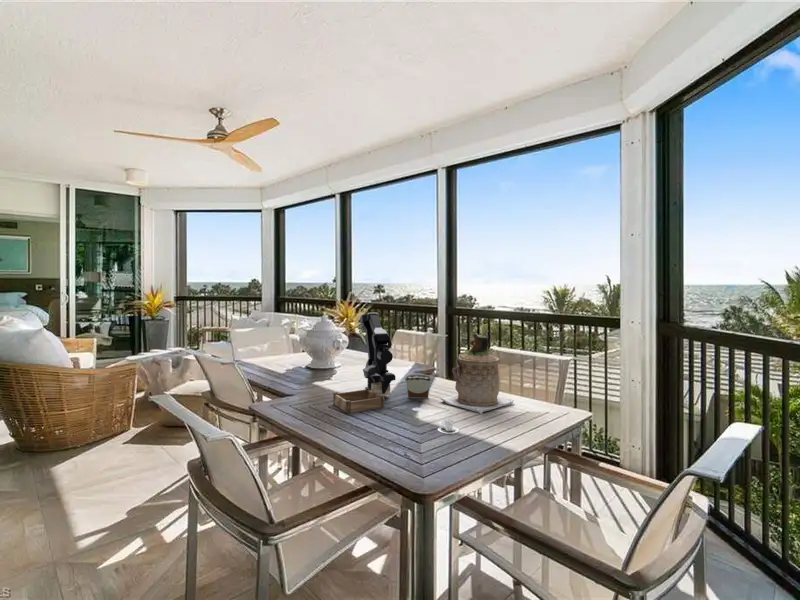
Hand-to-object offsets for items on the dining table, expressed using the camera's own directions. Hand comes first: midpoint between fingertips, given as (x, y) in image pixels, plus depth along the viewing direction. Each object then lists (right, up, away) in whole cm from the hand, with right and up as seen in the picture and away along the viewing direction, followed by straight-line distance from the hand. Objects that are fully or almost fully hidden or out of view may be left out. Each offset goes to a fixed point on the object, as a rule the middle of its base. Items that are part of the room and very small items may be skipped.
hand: (380, 392), depth 209 cm
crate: (-9, -3, -14) cm, 17 cm away
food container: (+18, -2, +1) cm, 18 cm away
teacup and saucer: (+29, -5, -42) cm, 51 cm away
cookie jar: (+44, -3, -9) cm, 45 cm away
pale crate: (0, -1, 0) cm, 1 cm away
